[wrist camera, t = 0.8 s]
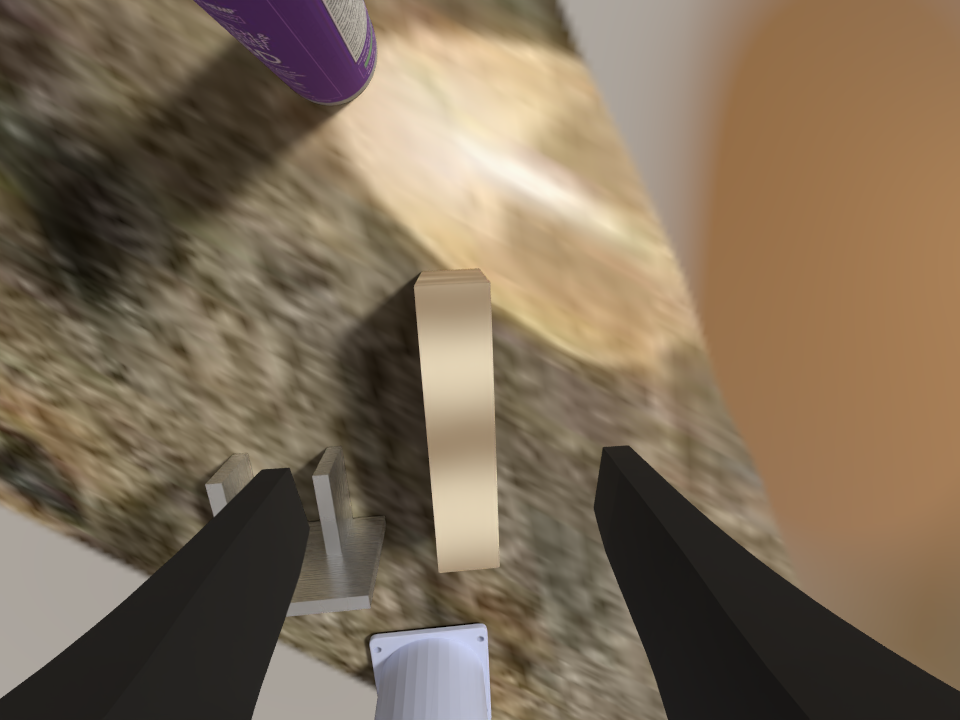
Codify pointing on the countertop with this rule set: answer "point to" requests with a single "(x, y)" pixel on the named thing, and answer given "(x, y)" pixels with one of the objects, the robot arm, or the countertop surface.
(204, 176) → the countertop surface
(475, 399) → the rail
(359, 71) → the container
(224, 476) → the bracket
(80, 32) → the countertop surface
